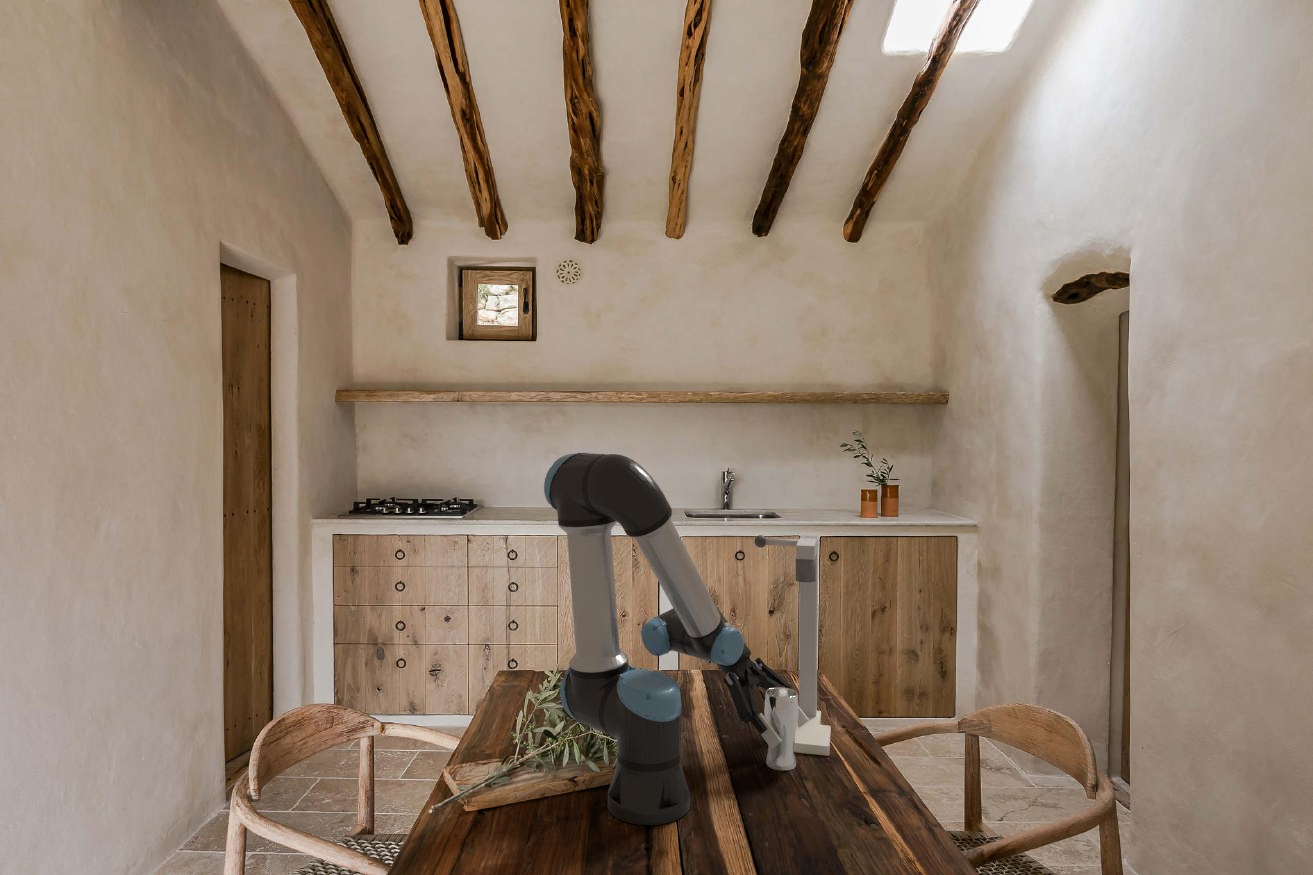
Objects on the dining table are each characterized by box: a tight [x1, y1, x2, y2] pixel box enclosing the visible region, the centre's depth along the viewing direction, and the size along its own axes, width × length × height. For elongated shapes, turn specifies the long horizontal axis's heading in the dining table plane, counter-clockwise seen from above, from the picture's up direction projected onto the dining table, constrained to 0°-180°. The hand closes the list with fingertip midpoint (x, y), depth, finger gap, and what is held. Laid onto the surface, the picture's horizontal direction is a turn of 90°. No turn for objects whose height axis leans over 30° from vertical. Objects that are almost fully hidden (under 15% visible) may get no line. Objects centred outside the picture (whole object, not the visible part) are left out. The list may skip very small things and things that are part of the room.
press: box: [753, 534, 832, 757], centre depth 175 cm, size 21×18×44 cm
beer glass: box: [763, 686, 799, 772], centre depth 159 cm, size 7×7×15 cm
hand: (791, 734), depth 157 cm, fingers open, 13 cm apart
